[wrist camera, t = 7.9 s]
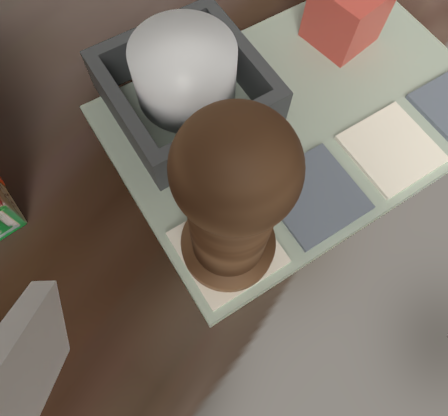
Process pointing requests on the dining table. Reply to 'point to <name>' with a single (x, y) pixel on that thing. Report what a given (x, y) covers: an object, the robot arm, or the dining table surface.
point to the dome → (181, 65)
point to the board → (305, 129)
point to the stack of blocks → (9, 213)
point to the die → (343, 26)
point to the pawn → (234, 189)
